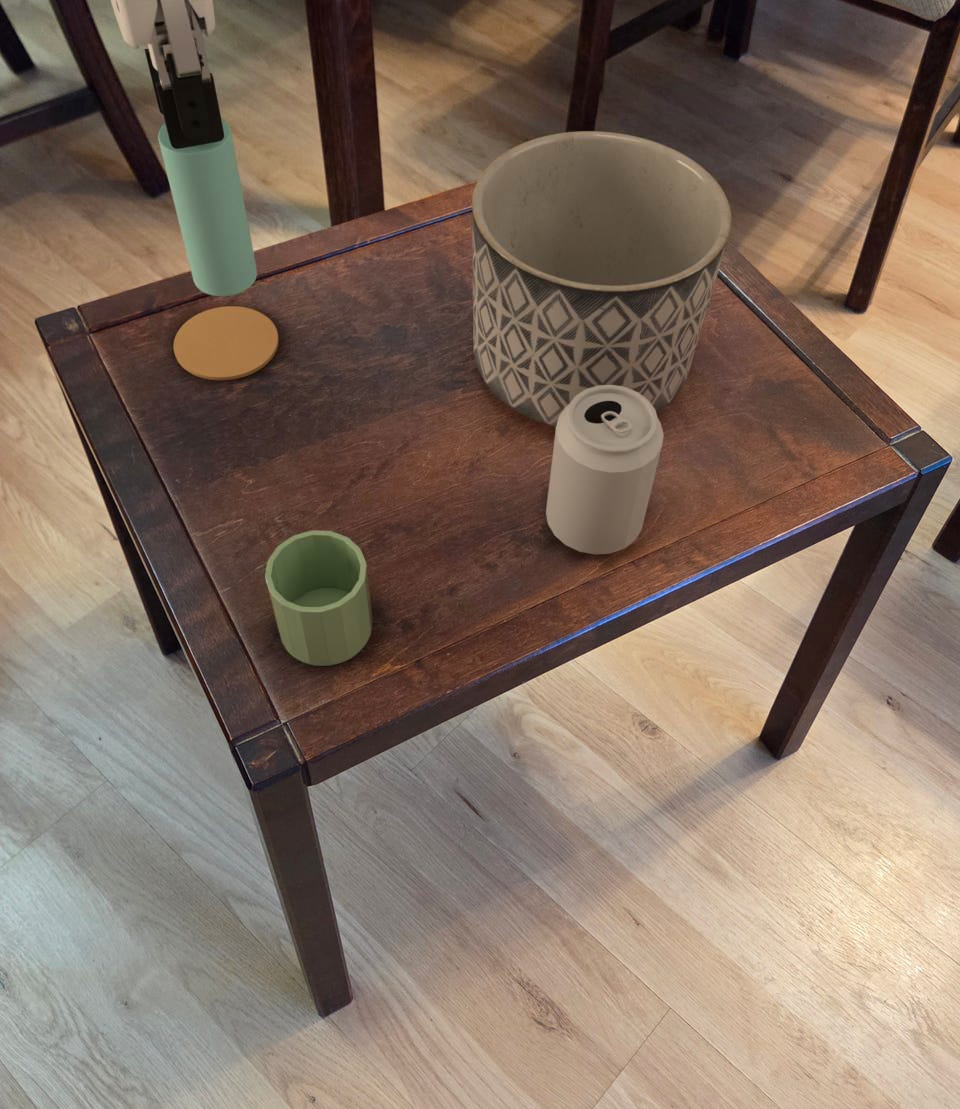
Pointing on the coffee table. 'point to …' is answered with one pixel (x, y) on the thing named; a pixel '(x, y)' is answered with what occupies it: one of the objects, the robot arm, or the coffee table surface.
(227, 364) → the coaster
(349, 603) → the holder
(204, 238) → the bottle
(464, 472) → the coffee table surface
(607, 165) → the planter
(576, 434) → the can
